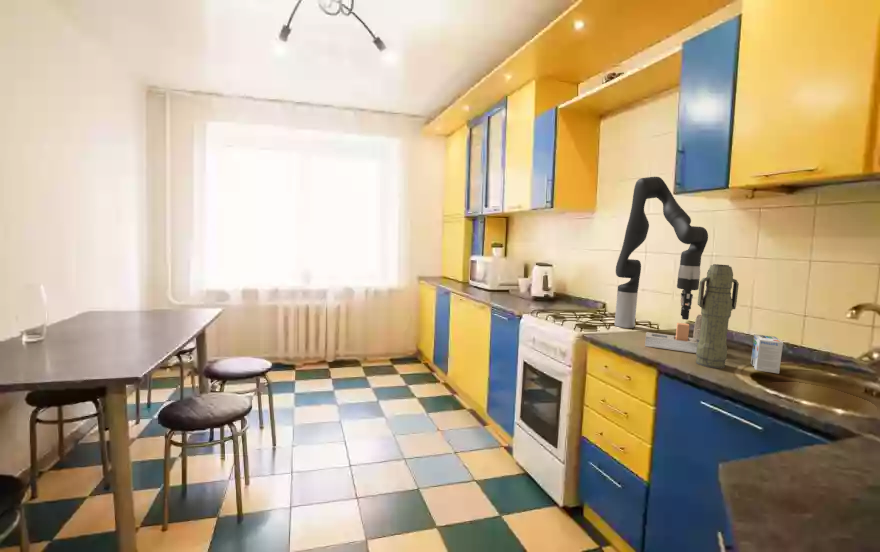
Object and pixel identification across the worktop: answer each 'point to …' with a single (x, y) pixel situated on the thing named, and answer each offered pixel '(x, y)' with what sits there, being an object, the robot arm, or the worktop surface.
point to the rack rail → (671, 342)
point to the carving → (697, 327)
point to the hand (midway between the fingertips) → (684, 317)
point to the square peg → (682, 331)
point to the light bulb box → (766, 353)
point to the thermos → (715, 315)
